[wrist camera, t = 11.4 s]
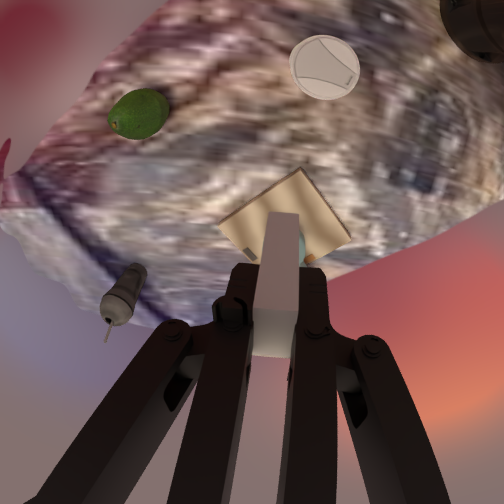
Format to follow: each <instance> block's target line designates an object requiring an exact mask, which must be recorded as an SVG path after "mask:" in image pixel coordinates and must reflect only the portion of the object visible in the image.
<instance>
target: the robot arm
mask: <svg viewBox="0 0 504 504" xmlns="http://www.w3.org/2000/svg"><path fill="white" fill-rule="evenodd" d="M440 11H441V16H442V20H443V23H444V25H445V28H446V30H447V32H448V34H449V35H450V37H451V38H452V40H453V41H454V42H455V44H456V45H457V46H458V47H459V48H460V49H461V50H462V51H463V52H464V53H466V54H467V55H468V56H470V57H472V58H473V59H475V60H478V61H481V62H487V63H501V62H504V0H440ZM212 312H213V320H214V321H212V322H210V323H208V324H205V325H200V326H193V327H190V326H189V325H188V323H186V322H184V321H183V320H179V319H171V320H167V321H164V322H162V323H161V324H160V325H159V326H158V327H157V328H156V329H155V330H154V332H153V333H152V334H151V336H150V337H149V338H148V340H147V341H146V342H145V344H144V345H143V346H142V348H141V349H140V350H139V352H138V353H137V354H136V356H135V357H134V358H133V360H132V361H131V362H130V364H129V365H128V366H127V368H126V369H125V370H124V372H123V373H122V374H121V376H120V377H119V378H118V380H117V381H116V382H115V384H114V385H113V387H112V388H111V389H110V391H109V392H108V393H107V395H106V396H105V398H104V399H103V400H102V402H101V403H100V405H99V406H98V407H97V409H96V410H95V411H94V413H93V414H92V416H91V417H90V418H89V420H88V421H87V422H86V424H85V425H84V427H83V428H82V430H81V431H80V432H79V434H78V435H77V437H76V438H75V440H74V441H73V442H72V444H71V445H70V447H69V448H68V449H67V451H66V452H65V454H64V455H63V457H62V458H61V460H60V461H59V462H58V464H57V465H56V467H55V468H54V470H53V471H52V473H51V474H50V476H49V477H48V479H47V480H46V482H45V483H44V484H43V486H42V487H41V489H40V491H39V492H38V494H37V495H36V496H35V497H33V498H32V499H30V500H28V501H27V502H25V503H24V504H124V503H125V501H126V500H127V498H128V496H129V495H130V493H131V491H132V490H133V488H134V486H135V485H136V483H137V482H138V480H139V478H140V476H141V475H142V473H143V472H144V470H145V469H146V467H147V465H148V463H149V462H150V460H151V459H152V457H153V455H154V453H155V452H156V450H157V449H158V447H159V445H160V444H161V442H162V440H163V439H164V437H165V435H166V434H167V432H168V430H169V429H170V427H171V425H172V424H173V422H174V420H175V418H176V417H177V415H178V413H179V412H180V410H181V408H182V407H183V405H184V403H185V402H186V400H187V398H188V396H189V395H190V393H191V391H192V389H193V388H194V386H195V384H196V383H197V386H196V390H195V394H194V398H193V401H192V405H191V409H190V413H189V416H188V420H187V425H186V428H185V432H184V436H183V440H182V444H181V448H180V452H179V456H178V460H177V463H176V467H175V472H174V475H173V480H172V484H171V488H170V492H169V496H168V500H167V504H229V501H230V495H231V489H232V483H233V477H234V471H235V465H236V459H237V453H238V447H239V441H240V435H241V429H242V422H243V416H244V410H245V403H246V397H247V390H248V384H249V378H250V371H251V358H252V355H257V356H267V357H278V358H279V357H280V358H290V367H289V372H288V378H287V381H288V388H287V401H286V414H285V425H284V436H283V448H282V457H281V467H280V476H279V485H278V494H277V502H276V504H336V489H337V391H338V394H339V398H340V401H341V404H342V407H343V411H344V414H345V417H346V420H347V424H348V427H349V430H350V434H351V437H352V441H353V444H354V447H355V451H356V454H357V458H358V461H359V465H360V469H361V472H362V476H363V479H364V483H365V487H366V490H367V494H368V497H369V502H370V504H451V502H450V499H449V496H448V493H447V490H446V487H445V484H444V481H443V478H442V475H441V472H440V469H439V467H438V463H437V461H436V458H435V455H434V452H433V450H432V447H431V444H430V442H429V439H428V437H427V434H426V431H425V429H424V426H423V424H422V421H421V419H420V416H419V414H418V412H417V409H416V407H415V404H414V402H413V400H412V397H411V395H410V393H409V390H408V388H407V386H406V384H405V381H404V379H403V377H402V374H401V372H400V370H399V368H398V366H397V363H396V361H395V359H394V357H393V355H392V353H391V350H390V348H389V346H388V345H387V343H386V342H385V341H384V340H383V339H381V338H379V337H378V336H374V335H364V336H361V337H359V338H358V340H354V339H350V338H347V337H345V336H342V335H340V334H339V333H337V332H336V331H335V330H334V329H333V327H332V326H331V324H330V320H329V306H328V294H327V282H326V276H325V274H324V273H323V271H322V270H321V268H309V267H299V214H297V213H284V212H271V211H269V213H268V219H267V225H266V231H265V238H264V244H263V250H262V256H261V262H260V264H249V263H238V264H237V265H236V266H235V267H234V268H233V269H232V272H231V275H230V280H229V283H228V287H227V290H226V294H225V296H221V297H219V298H218V299H217V300H215V301H214V303H213V305H212ZM197 381H198V382H197Z"/></svg>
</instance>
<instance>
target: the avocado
mask: <svg viewBox="0 0 504 504" xmlns="http://www.w3.org/2000/svg"><path fill="white" fill-rule="evenodd" d="M168 114H169V103H168V101H167V99H166V97H165V96H164V95H162V94H161V93H159V92H157V91H155V90H152V89H147V88H143V89H138V90H134V91H131V92H129V93H127V94H126V95H124V96H123V97H122V98H121V99H120V100H119V101H118V102H117V103H116V104H115V105H114V107H113V108H112V109H111V111H110V112H109V116H108V123H109V125H110V127H111V128H112V130H113V131H114V132H115V133H117V134H118V135H121V136H123V137H125V138H128V139H134V140H140V139H145V138H148V137H150V136H152V135H153V134H155V133H157V132H158V131H159V130H160V129H161V127H162V126H163V125H164V123H165V121H166V119H167V117H168Z"/></svg>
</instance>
